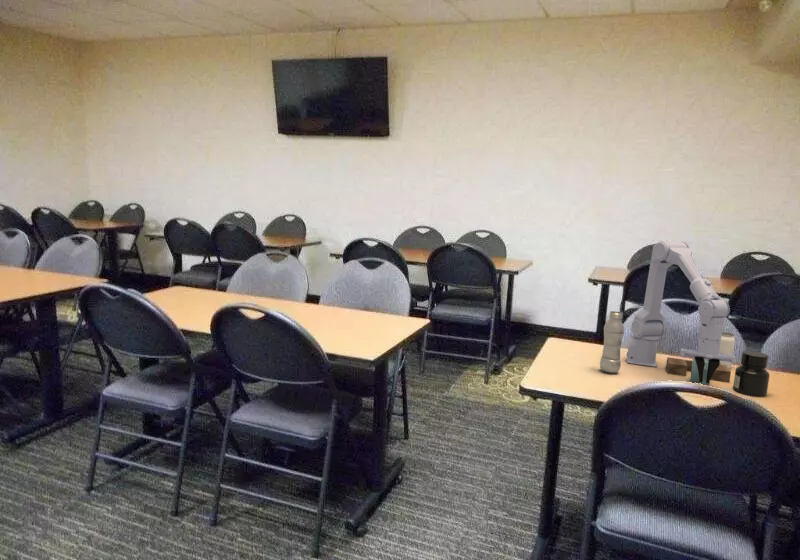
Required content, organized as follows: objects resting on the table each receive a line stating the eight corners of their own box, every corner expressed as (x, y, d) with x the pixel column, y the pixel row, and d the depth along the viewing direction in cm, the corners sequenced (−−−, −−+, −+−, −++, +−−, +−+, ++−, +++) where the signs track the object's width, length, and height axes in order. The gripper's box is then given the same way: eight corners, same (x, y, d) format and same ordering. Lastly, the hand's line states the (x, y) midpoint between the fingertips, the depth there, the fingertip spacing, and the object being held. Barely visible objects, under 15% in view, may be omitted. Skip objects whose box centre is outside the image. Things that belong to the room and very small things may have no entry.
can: (733, 370, 195) (738, 336, 193) (713, 368, 196) (718, 335, 195) (727, 365, 202) (731, 332, 200) (707, 363, 203) (711, 330, 201)
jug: (692, 388, 175) (695, 366, 173) (689, 378, 184) (691, 357, 183) (713, 391, 173) (716, 369, 172) (708, 380, 182) (711, 359, 181)
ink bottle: (740, 384, 180) (746, 348, 178) (771, 393, 173) (777, 355, 171) (727, 390, 174) (732, 352, 172) (758, 399, 167) (764, 359, 166)
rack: (667, 373, 188) (668, 363, 188) (665, 367, 196) (667, 357, 195) (729, 382, 182) (730, 372, 181) (725, 375, 189) (726, 365, 189)
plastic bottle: (620, 371, 188) (627, 311, 185) (619, 376, 182) (625, 315, 179) (600, 367, 191) (606, 309, 188) (597, 373, 185) (604, 312, 182)
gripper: (684, 338, 170) (678, 381, 172) (739, 345, 165) (733, 389, 167) (682, 333, 177) (676, 375, 179) (735, 339, 171) (729, 382, 174)
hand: (703, 381), depth 173 cm, fingers closed on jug
